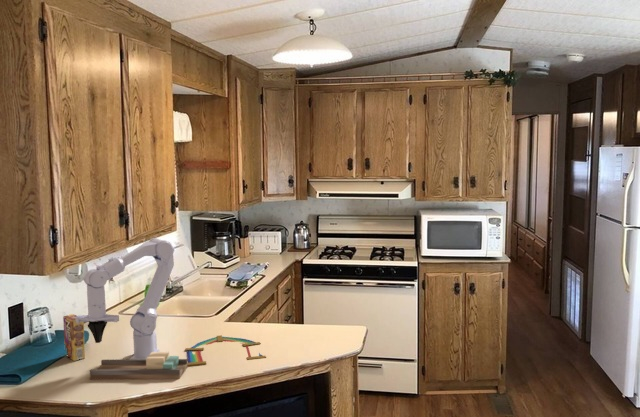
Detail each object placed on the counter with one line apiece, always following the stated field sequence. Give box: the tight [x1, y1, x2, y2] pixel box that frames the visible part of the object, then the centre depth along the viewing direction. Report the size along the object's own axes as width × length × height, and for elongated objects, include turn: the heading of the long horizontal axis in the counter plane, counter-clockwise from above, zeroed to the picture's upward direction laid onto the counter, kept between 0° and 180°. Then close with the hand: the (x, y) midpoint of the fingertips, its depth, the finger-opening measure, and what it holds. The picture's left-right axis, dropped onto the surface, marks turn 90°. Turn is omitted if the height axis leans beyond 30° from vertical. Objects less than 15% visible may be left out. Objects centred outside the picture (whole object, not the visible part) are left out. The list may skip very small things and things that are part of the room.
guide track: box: [89, 355, 188, 380], centre depth 184 cm, size 10×30×4 cm, turn 89°
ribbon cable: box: [184, 335, 267, 368], centre depth 207 cm, size 29×1×30 cm
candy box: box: [62, 313, 86, 362], centre depth 200 cm, size 9×4×15 cm, turn 47°
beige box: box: [146, 351, 170, 369], centre depth 184 cm, size 6×6×4 cm
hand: (98, 341), depth 188 cm, fingers closed
